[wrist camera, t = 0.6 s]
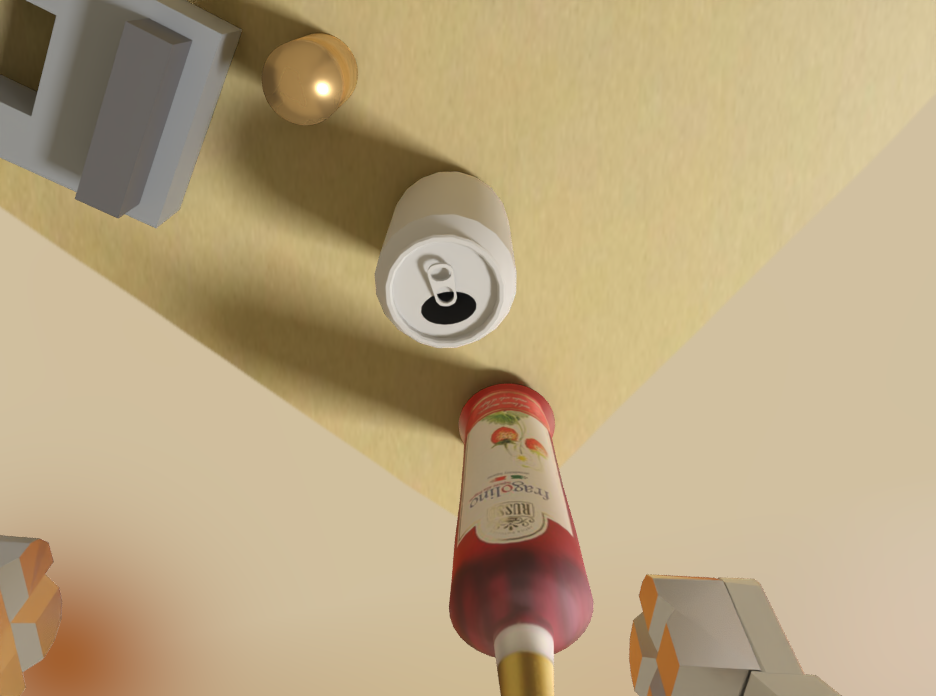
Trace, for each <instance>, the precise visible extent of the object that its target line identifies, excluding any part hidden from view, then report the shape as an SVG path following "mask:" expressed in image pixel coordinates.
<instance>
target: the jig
mask: <svg viewBox="0 0 936 696" xmlns="http://www.w3.org/2000/svg"><path fill="white" fill-rule="evenodd" d="M26 1H28V2H30V3H32V4H34V5H36V6H38V7H40V8H42V9H44V10H46V11H48V12H50V13H52V14H54V15H56V19H55V23H54V27H53V31H52V35H51V39H50V43H49V47H48V52H47V56H46V60H45V64H44V68H43V72H42V76H41V80H40V84H39V88H38V92H36V91H34V90H32V89H30V88H28V87H26V86H24V85H22V84H19V83H17V82H15V81H13V80H11V79H9V78H7V77H5V76H3V75H0V158H2V159H5V160H7V161H9V162H11V163H13V164H16V165H18V166H20V167H22V168H24V169H27V170H29V171H31V172H33V173H35V174H38V175H40V176H42V177H44V178H46V179H49V180H51V181H53V182H55V183H57V184H60V185H62V186H64V187H66V188H68V189H71V190H73V191H75V192H77V193H76V197H75V199H76V200H78V201H81V202H83V203H85V204H87V205H89V206H92V207H94V208H96V209H98V210H100V211H103V212H105V213H107V214H109V215H112V216H114V217H116V218H119V217H121V216H122V215H124V214H126V215H128V216H130V217H132V218H134V219H137V220H139V221H141V222H143V223H145V224H148V225H150V226H152V227H154V228H157V227H158V226H160V225H161V224H162V223H163V222H165V221H166V220H167V219H168V218H170V217H171V216H172V215H173V214H175V213H176V212H177V211H178V210H179V209H180V206H181V204H182V201H183V198H184V195H185V192H186V189H187V186H188V184H189V181H190V178H191V175H192V172H193V169H194V166H195V164H196V161H197V158H198V155H199V152H200V149H201V147H202V144H203V141H204V138H205V135H206V132H207V129H208V127H209V124H210V121H211V118H212V115H213V112H214V109H215V107H216V104H217V101H218V98H219V95H220V92H221V89H222V87H223V84H224V81H225V78H226V75H227V72H228V69H229V67H230V64H231V61H232V58H233V55H234V52H235V49H236V47H237V44H238V41H239V38H240V35H241V32H242V29H240V28H238V27H236V26H234V25H232V24H230V23H228V22H226V21H224V20H222V19H221V18H219V17H217V16H215V15H213V14H211V13H209V12H207V11H205V10H203V9H201V8H199V7H197V6H196V5H194V4H192V3H190V2H188V1H186V0H26Z"/></svg>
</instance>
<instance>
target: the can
mask: <svg viewBox="0 0 936 696" xmlns="http://www.w3.org/2000/svg"><path fill="white" fill-rule="evenodd" d="M375 283H376V295H377V297H378V300H379V302H380V304H381V307H382V309H383V311H384V314H385V315H386V316H387V317H388V318H389V319H390V321H391V322H392V323H393V324H394V325H395V326H396V327H397V329H398V330H400V331H401V332H403V333H404V334H406V335H408V336H409V337H411V338H412V339H414V340H416V341H417V342H419V343H421V344H425V345H429V346H432V347H436V348H456V347H460V346H463V345H466V344H469V343H473V342H475V341H477V340H480V339H481V338H483V337H484V336H485V335H487V334H488V333H490V332H491V331H493V330H494V329H496V328H497V327H498V325H499V324H500V323H501V322H502V320H503V319H504V318H505V316H506V315H507V314H508V313H509V311H510V308H511V305H512V302H513V300H514V297H515V294H516V267H515V260H514V254H513V247H512V240H511V234H510V227H509V221H508V217H507V214H506V211H505V208H504V205H503V203H502V201H501V200H500V199H499V197H498V196H497V194H496V193H495V192H494V190H493V189H492V188H491V187H490V186H488V185H487V184H485V183H484V182H482V181H481V180H480V179H478V178H477V177H474V176H471V175H467V174H464V173H461V172H438V173H435V174H432V175H429V176H426V177H423V178H421V179H420V180H418V181H417V182H416V183H414V184H413V185H412V186H410V187H409V188H408V189H407V190H406V191H405V193H404V194H403V196H402V197H401V198H400V200H399V201H398V203H397V204H396V207H395V210H394V213H393V216H392V219H391V222H390V225H389V228H388V231H387V234H386V237H385V240H384V244H383V247H382V250H381V253H380V256H379V260H378V264H377V267H376V271H375Z"/></svg>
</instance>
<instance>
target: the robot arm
mask: <svg viewBox="0 0 936 696" xmlns="http://www.w3.org/2000/svg"><path fill="white" fill-rule="evenodd" d="M53 562H54V561H53V557H52V553H51V550H50V546H49V543H48V542H46V541H44V540H42V539H39V538H27V537H14V536H3V535H0V696H20V695H21V694H22V692H23V691H24V689H25V688H26V686H25V682H24V677H23V672H24V671H25V670H27V669H28V668H30V667H32V666H33V665H35V664H36V663H38V662H39V661H41V660H42V659H43V658H44V657H45V655H46V654H47V652H48V650H49V649H50V647H51V645H52V644H53V642H54V640H55V637H56V634H57V630H58V627H59V624H60V621H61V614H62V599H61V593H60V588H59V586H58V585H56V584H55V583H54V582H53V581H52V580H51V579H50V578H49V577H48V576H47V575H46V572H47V571H48V569H49V568H50V566H51V565H52V564H53ZM639 598H640V602H641V606H642V610H643V612H642V613H641V614H640V615H639V616H637V617H636V618H635V619H634V620H633V624H632V629H631V634H630V648H629V662H630V671H631V677H632V682H633V687H634V691H635V692H636V693H637V694H638V695H639V696H842V695H840V694H839V693H838V692H837V691H835V690H834V689H833V688H831V687H830V686H829V685H828V684H826V683H825V682H824V681H823V680H821V679H820V678H819V677H818V676H816V675H807V674H806V675H805V674H804V672H803V670H802V667H801V666H800V663H799V661H798V659H797V658H796V655H795V653H794V651H793V649H792V647H791V645H790V643H789V641H788V639H787V637H786V635H785V633H784V631H783V629H782V627H781V625H780V623H779V621H778V619H777V616H776V615H775V613H774V610H773V608H772V606H771V604H770V602H769V600H768V598H767V596H766V594H765V592H764V590H763V588H762V586H761V584H760V583H759V582H757V581H756V580H755V579H744V578H721V577H720V578H709V577H690V576H671V575H652V574H650V575H649V574H647V575H646V576H645V578H644V580H643V582H642V585H641V589H640V593H639Z"/></svg>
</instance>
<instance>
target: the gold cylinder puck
mask: <svg viewBox="0 0 936 696" xmlns="http://www.w3.org/2000/svg"><path fill="white" fill-rule="evenodd" d="M357 79H358V69H357V64H356V60H355V58H354V55H353V54H352V52H351V50H350V49H349V48H348V46H347V45H346V44H345V43H344V42H342V41H341V40H340V39H338V38H336V37H334V36H332V35H329V34H324V33H315V34H310V35H307V36H304V37H301V38H298V39H295V40H293V41H290V42H287V43H284V44H282V45H280V46H279V47H277V48H276V49H275V50H274V51H272V53H271V54H270V55H269V56H268V58H267V60H266V62H265V64H264V67H263V71H262V87H263V91H264V94H265V97H266V99H267V101H268V103H269V104H270V106H271V107H272V109H273V110H274V111H275V112H276V113H277V114H278V115H279V116H281V117H282V118H284V119H285V120H287V121H289V122H292V123H295V124H299V125H313V124H317V123H320V122H322V121H324V120H326V119H327V118H328V117H329V116H331V115H332V114H333V113H334V112H335V111H336V110H337V109H338V108H339V107H340V106H341V105H342V104H343V103H344V102H345V101H346V100H347V99H348V98H349V97H350V96H351V94H352V93H353V91H354V89H355V87H356V84H357Z"/></svg>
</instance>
